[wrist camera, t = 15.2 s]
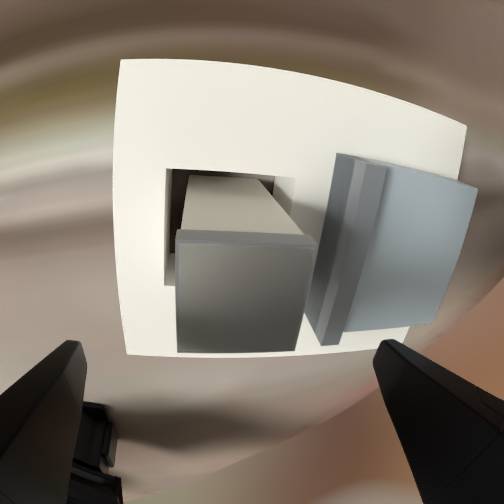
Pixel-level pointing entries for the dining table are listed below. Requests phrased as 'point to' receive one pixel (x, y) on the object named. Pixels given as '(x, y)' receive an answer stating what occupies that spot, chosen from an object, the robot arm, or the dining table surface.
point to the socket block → (246, 168)
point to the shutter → (385, 247)
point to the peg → (239, 269)
